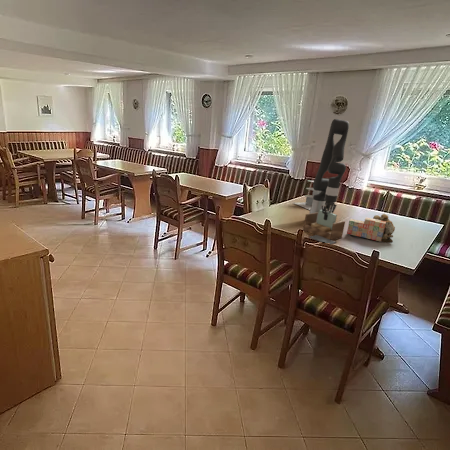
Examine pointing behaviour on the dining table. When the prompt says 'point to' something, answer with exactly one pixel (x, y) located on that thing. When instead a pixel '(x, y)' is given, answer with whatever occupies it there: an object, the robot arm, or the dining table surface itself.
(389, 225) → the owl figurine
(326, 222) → the panel
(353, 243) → the dining table surface
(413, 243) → the dining table surface
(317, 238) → the pad
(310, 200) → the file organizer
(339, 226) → the rack
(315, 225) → the offcut stack
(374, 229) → the stack of blocks
